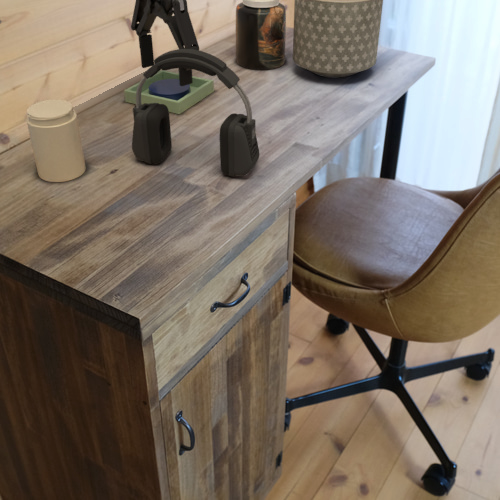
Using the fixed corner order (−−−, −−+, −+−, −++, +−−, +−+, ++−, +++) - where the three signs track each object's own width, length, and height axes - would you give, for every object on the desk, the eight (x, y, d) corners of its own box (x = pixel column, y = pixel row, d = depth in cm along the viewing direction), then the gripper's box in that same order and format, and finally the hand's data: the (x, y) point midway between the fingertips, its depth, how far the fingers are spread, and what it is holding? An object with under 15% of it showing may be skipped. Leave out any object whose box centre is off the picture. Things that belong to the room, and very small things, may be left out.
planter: (309, 53, 160) (313, -25, 149) (384, 64, 153) (394, -17, 143) (279, 79, 146) (281, -5, 135) (360, 92, 139) (369, 5, 129)
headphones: (130, 163, 114) (116, 50, 102) (145, 147, 119) (134, 38, 107) (250, 182, 108) (250, 65, 96) (261, 164, 113) (262, 51, 101)
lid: (198, 95, 137) (198, 87, 136) (165, 106, 133) (164, 97, 131) (174, 83, 142) (173, 75, 141) (141, 93, 138) (140, 85, 137)
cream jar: (28, 175, 110) (13, 112, 103) (60, 156, 116) (48, 95, 109) (64, 186, 107) (51, 122, 100) (95, 166, 113) (85, 104, 106)
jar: (230, 68, 152) (229, 1, 143) (242, 51, 161) (241, -12, 152) (280, 71, 149) (281, 4, 141) (288, 55, 159) (290, -9, 150)
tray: (125, 101, 136) (123, 90, 134) (162, 80, 145) (161, 69, 144) (179, 114, 130) (178, 102, 129) (214, 91, 140) (213, 80, 139)
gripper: (106, -42, 128) (118, 63, 141) (182, -18, 113) (188, 97, 125) (138, -47, 132) (147, 55, 145) (215, -25, 117) (218, 87, 130)
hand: (166, 75), depth 135 cm, fingers open, 13 cm apart
